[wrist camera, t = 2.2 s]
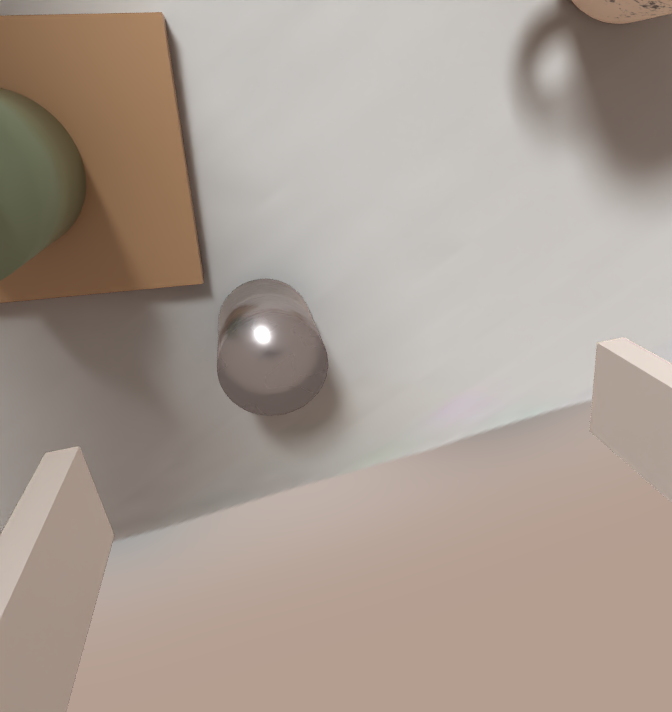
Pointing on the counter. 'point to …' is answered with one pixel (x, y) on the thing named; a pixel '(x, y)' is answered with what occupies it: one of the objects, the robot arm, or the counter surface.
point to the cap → (269, 349)
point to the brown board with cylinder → (91, 158)
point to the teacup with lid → (624, 9)
